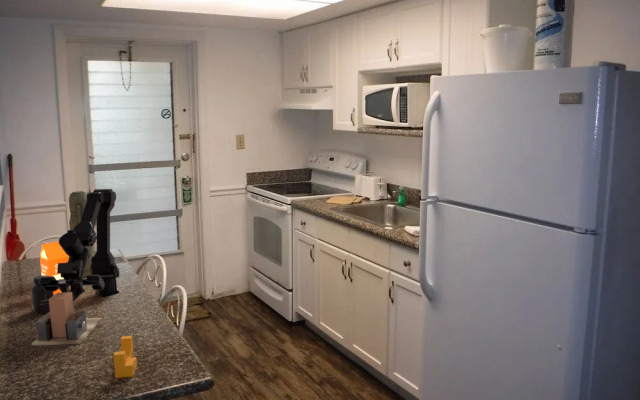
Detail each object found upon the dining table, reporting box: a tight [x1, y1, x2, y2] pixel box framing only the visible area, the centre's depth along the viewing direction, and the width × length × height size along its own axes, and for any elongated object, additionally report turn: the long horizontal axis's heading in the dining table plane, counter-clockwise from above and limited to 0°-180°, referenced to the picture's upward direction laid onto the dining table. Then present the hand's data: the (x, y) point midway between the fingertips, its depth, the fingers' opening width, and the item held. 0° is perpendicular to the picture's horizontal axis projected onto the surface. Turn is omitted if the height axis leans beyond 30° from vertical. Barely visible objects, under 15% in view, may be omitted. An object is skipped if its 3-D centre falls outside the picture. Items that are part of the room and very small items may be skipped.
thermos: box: [68, 191, 95, 278], centre depth 232 cm, size 9×12×35 cm
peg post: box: [49, 292, 75, 337], centre depth 169 cm, size 6×4×12 cm
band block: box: [36, 310, 87, 341], centre depth 169 cm, size 8×13×6 cm, turn 93°
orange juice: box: [39, 240, 69, 295], centre depth 209 cm, size 8×9×20 cm
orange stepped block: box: [113, 335, 138, 379], centre depth 149 cm, size 12×4×6 cm, turn 9°
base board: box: [31, 317, 103, 346], centre depth 174 cm, size 19×14×1 cm
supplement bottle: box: [30, 275, 54, 314], centre depth 192 cm, size 7×7×12 cm
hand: (66, 307), depth 172 cm, fingers closed, pressing on peg post
